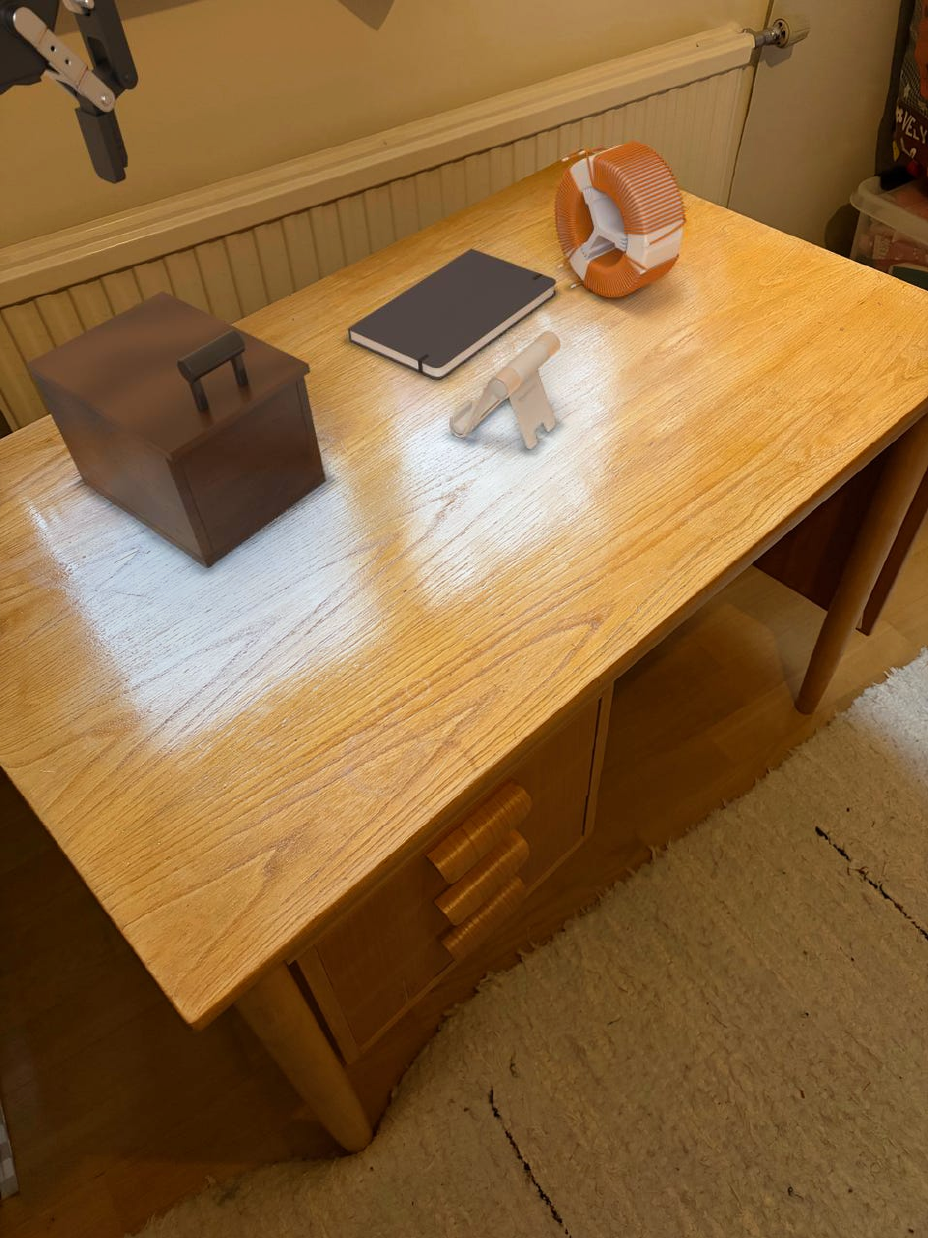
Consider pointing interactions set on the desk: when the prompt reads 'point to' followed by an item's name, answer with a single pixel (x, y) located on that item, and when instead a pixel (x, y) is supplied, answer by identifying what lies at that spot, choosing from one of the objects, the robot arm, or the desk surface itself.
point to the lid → (168, 373)
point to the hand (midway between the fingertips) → (49, 204)
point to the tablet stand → (514, 393)
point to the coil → (619, 218)
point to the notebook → (453, 313)
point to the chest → (200, 471)
